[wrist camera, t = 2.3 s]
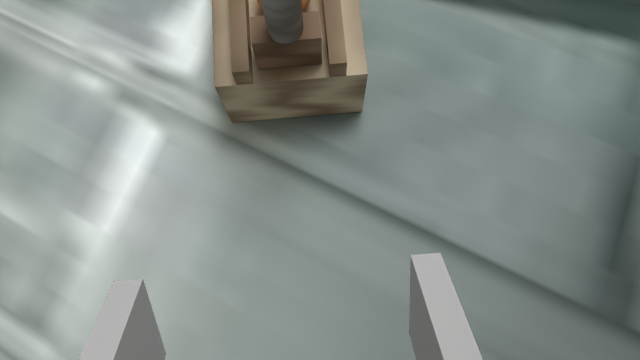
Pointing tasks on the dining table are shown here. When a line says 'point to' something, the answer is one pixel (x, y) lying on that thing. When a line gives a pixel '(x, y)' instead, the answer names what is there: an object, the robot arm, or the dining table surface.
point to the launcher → (289, 82)
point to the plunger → (286, 35)
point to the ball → (305, 3)
